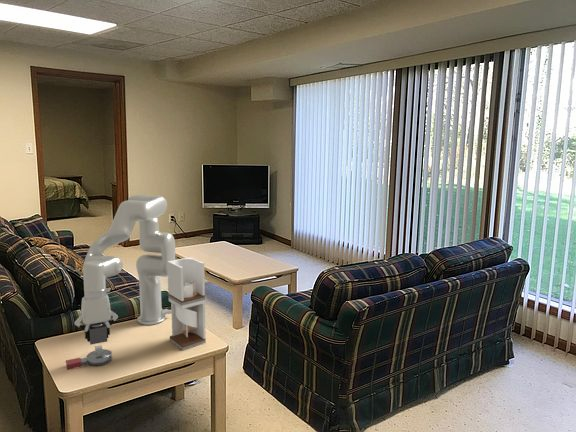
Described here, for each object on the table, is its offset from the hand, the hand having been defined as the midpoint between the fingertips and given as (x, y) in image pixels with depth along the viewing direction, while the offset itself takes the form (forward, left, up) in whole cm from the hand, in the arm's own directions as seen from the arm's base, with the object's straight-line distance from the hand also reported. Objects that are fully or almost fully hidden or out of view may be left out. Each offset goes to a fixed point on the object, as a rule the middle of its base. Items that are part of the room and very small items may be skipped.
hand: (97, 338), depth 175 cm
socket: (0, 0, -1) cm, 1 cm away
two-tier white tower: (-35, 0, -10) cm, 37 cm away
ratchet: (+3, 0, -9) cm, 10 cm away
